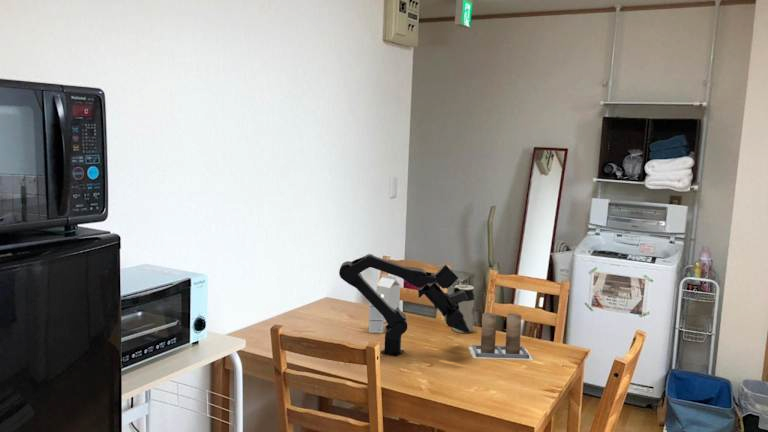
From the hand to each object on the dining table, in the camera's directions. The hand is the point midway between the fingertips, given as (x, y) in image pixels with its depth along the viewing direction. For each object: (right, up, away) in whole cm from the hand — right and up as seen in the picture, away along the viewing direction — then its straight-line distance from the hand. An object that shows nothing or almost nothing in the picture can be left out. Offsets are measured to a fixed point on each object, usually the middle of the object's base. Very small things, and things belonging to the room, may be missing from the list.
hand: (467, 328), depth 226 cm
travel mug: (+2, -6, +31) cm, 31 cm away
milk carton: (-28, -4, +42) cm, 51 cm away
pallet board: (+12, -10, +1) cm, 15 cm away
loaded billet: (+16, -9, +1) cm, 19 cm away
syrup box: (-33, -6, +26) cm, 42 cm away
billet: (+7, -9, +1) cm, 12 cm away
